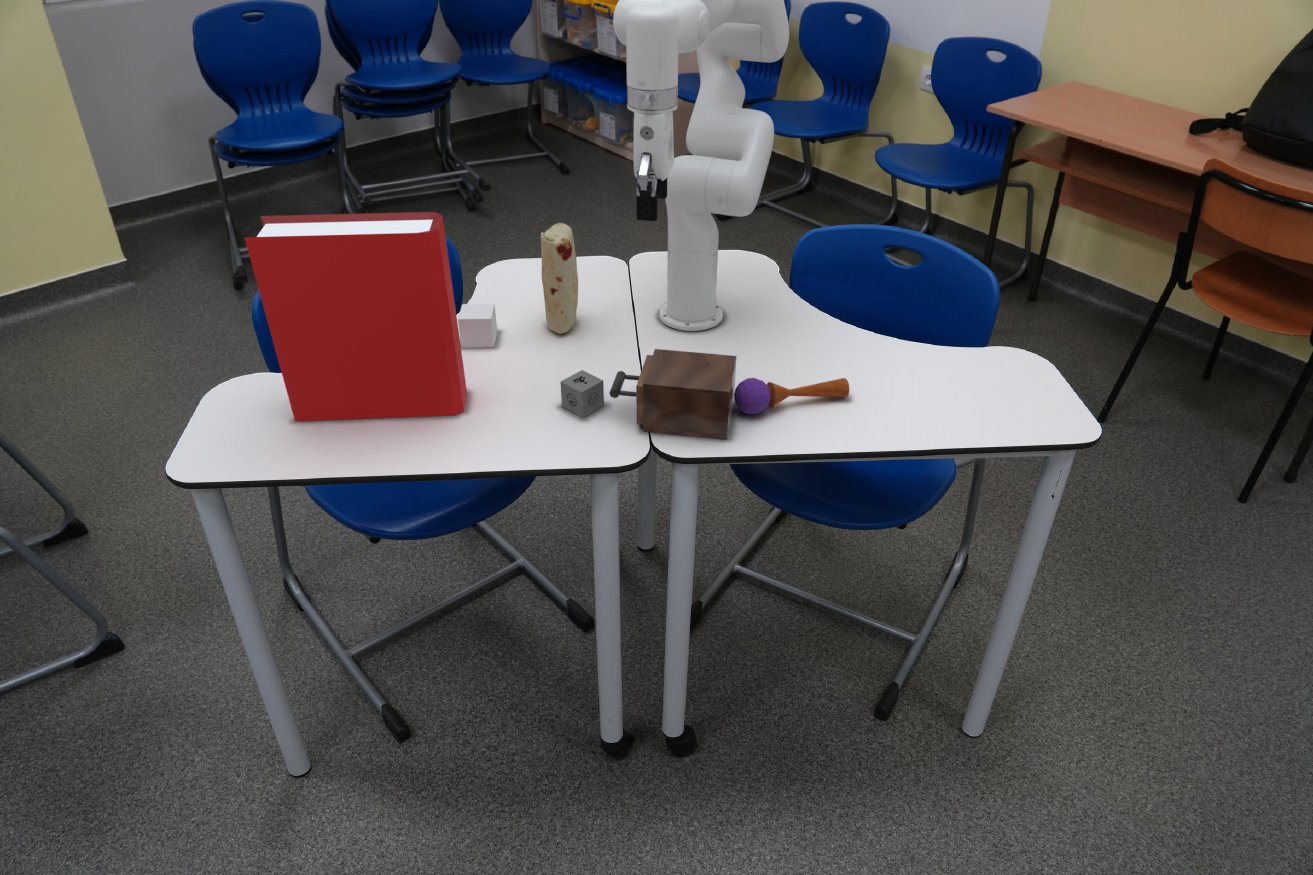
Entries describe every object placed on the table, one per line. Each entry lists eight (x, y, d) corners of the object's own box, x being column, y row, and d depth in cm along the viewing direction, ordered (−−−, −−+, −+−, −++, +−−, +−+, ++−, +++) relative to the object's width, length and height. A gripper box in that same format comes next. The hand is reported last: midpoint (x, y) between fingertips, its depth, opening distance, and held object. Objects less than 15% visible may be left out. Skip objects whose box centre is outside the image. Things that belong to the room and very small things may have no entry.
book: (295, 421, 148) (244, 237, 130) (306, 395, 155) (260, 216, 136) (463, 415, 150) (437, 232, 131) (467, 389, 156) (443, 211, 138)
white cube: (494, 347, 168) (490, 318, 165) (461, 348, 168) (457, 319, 165) (497, 331, 173) (494, 303, 170) (466, 332, 173) (462, 304, 170)
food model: (577, 338, 171) (572, 238, 160) (542, 337, 171) (534, 238, 160) (582, 314, 179) (577, 217, 168) (548, 313, 179) (541, 217, 168)
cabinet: (643, 431, 146) (642, 383, 141) (654, 395, 155) (654, 348, 150) (727, 439, 144) (729, 391, 139) (733, 402, 153) (736, 355, 148)
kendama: (856, 386, 150) (745, 396, 145) (846, 412, 154) (737, 423, 149) (842, 363, 154) (733, 372, 149) (833, 389, 158) (726, 398, 153)
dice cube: (583, 394, 155) (582, 369, 152) (604, 405, 152) (603, 380, 150) (562, 406, 152) (560, 381, 149) (582, 418, 149) (581, 392, 146)
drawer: (607, 421, 147) (606, 383, 143) (619, 389, 155) (618, 352, 151) (713, 431, 145) (715, 393, 141) (720, 398, 153) (722, 361, 149)
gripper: (668, 115, 127) (667, 231, 137) (685, 83, 141) (683, 191, 150) (615, 112, 128) (618, 227, 137) (638, 81, 142) (638, 188, 151)
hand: (652, 208), depth 144 cm, fingers open, 9 cm apart
